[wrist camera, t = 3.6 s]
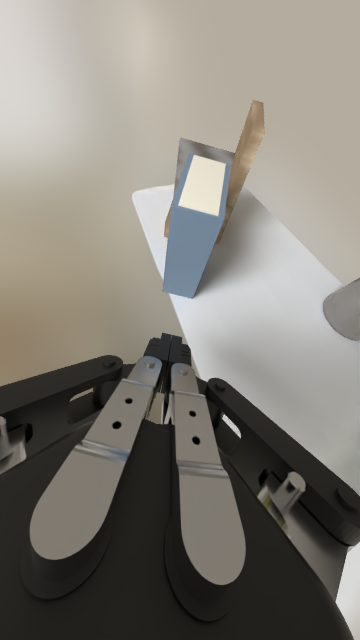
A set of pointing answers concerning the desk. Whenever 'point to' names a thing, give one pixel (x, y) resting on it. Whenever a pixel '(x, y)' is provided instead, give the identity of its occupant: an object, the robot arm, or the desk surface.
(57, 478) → the robot arm
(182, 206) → the book
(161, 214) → the desk surface
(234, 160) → the shelf
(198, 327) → the desk surface
